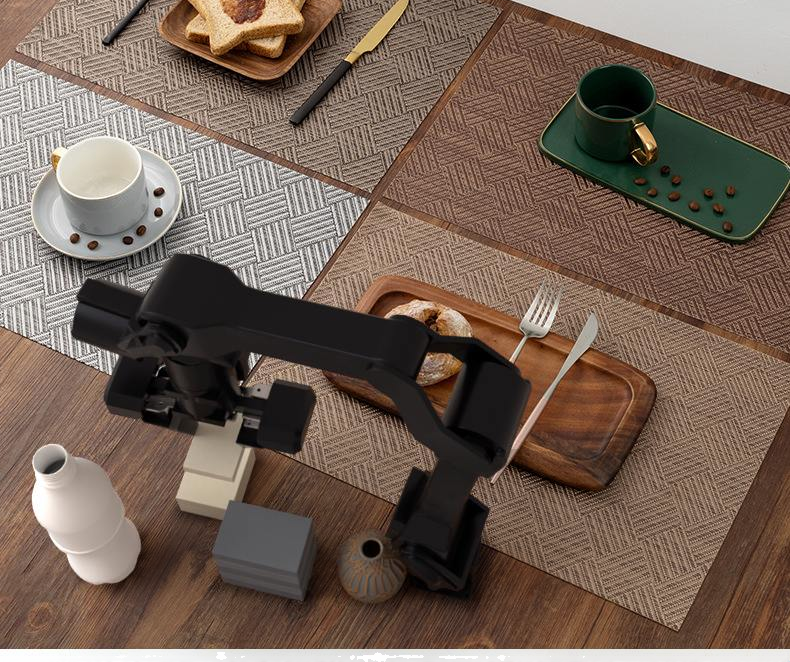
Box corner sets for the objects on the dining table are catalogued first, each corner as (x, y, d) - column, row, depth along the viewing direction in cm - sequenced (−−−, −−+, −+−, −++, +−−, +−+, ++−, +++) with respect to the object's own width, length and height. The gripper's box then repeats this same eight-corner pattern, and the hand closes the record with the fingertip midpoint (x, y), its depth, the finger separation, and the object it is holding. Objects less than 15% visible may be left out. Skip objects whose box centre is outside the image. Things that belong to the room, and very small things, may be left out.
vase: (378, 625, 114) (377, 598, 106) (325, 583, 116) (320, 555, 109) (419, 571, 117) (421, 541, 109) (366, 531, 119) (365, 500, 112)
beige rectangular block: (256, 458, 124) (252, 444, 121) (235, 523, 119) (230, 510, 116) (203, 446, 124) (198, 432, 121) (180, 510, 120) (175, 497, 117)
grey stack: (317, 549, 118) (312, 518, 110) (303, 601, 115) (297, 572, 107) (239, 531, 119) (229, 499, 112) (223, 582, 116) (211, 552, 108)
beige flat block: (233, 483, 109) (232, 478, 108) (184, 471, 110) (182, 466, 109) (258, 409, 113) (257, 404, 112) (210, 398, 114) (209, 393, 113)
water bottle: (132, 598, 115) (74, 507, 94) (65, 584, 116) (-7, 490, 95) (154, 531, 119) (104, 429, 98) (89, 518, 120) (26, 414, 99)
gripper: (328, 305, 101) (335, 385, 114) (131, 264, 104) (159, 347, 117) (293, 416, 95) (304, 487, 108) (84, 370, 98) (120, 445, 110)
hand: (221, 437), depth 111 cm, fingers closed on beige flat block, 5 cm apart
